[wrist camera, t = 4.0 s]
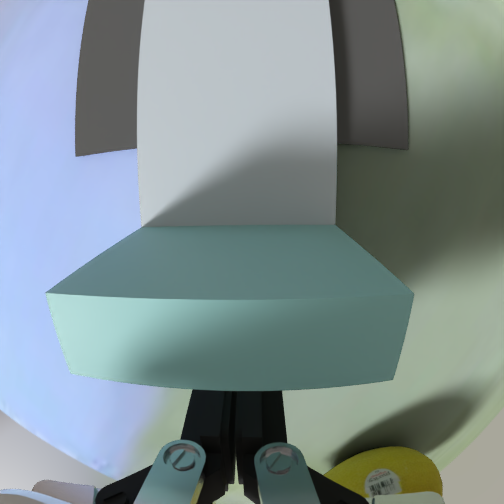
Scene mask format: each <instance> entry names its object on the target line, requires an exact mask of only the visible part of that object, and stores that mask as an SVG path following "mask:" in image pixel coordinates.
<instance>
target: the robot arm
mask: <svg viewBox="0 0 504 504" xmlns="http://www.w3.org/2000/svg"><path fill="white" fill-rule="evenodd" d="M236 460H237V471H238V481H239V484H243V485H244V495H245V496H246V497H247V498H249V499H250V500H251V501H253V502H254V503H255V504H445V502H444V499H443V498H442V497H441V496H440V495H439V494H438V493H435V492H428V491H426V492H418V493H407V494H394V495H375V496H374V497H373V498H364V497H363V496H361V495H360V494H357V493H355V492H353V491H351V490H350V489H348V488H346V487H344V486H342V485H340V484H338V483H336V482H334V481H332V480H331V479H329V478H327V477H325V476H323V475H322V474H320V473H318V472H316V471H315V470H313V469H311V468H310V467H308V466H307V465H306V462H305V459H304V456H303V454H302V453H301V451H300V450H299V449H298V448H296V447H295V446H293V445H291V444H288V443H287V435H286V425H285V416H284V406H283V397H282V390H280V391H219V390H196V389H193V390H192V394H191V398H190V402H189V406H188V410H187V414H186V418H185V422H184V427H183V431H182V435H181V439H180V440H176V441H172V442H170V443H168V444H166V445H165V446H163V448H162V449H161V450H160V452H159V454H158V456H157V458H156V460H155V462H154V464H153V465H151V466H149V467H147V468H145V469H143V470H141V471H138V472H136V473H134V474H132V475H130V476H128V477H125V478H123V479H121V480H119V481H116V482H114V483H112V484H110V485H107V486H106V487H104V488H102V489H98V488H96V487H95V486H89V485H80V484H72V483H65V482H58V481H52V480H42V481H40V482H37V483H36V484H35V485H34V487H33V489H32V491H28V490H21V489H3V490H0V504H216V500H217V499H219V498H220V497H222V496H223V495H225V491H228V484H234V479H235V462H236Z"/></svg>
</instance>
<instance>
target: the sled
mask: <svg viewBox="0 0 504 504" xmlns="http://www.w3.org/2000/svg"><path fill="white" fill-rule="evenodd" d="M137 159H138V183H139V200H140V214H141V226H142V227H141V228H140V229H138V230H136V231H135V232H133V233H132V234H130V235H129V236H127V237H126V238H124V239H122V240H121V241H119V242H118V243H116V244H115V245H113V246H112V247H110V248H109V249H107V250H106V251H104V252H103V253H101V254H100V255H98V256H97V257H95V258H94V259H92V260H91V261H89V262H88V263H86V264H85V265H84V266H82V267H81V268H79V269H78V270H76V271H75V272H74V273H72V274H71V275H69V276H68V277H66V278H65V279H64V280H62V281H61V282H59V283H58V284H57V285H55V286H54V287H53V288H51V289H50V290H49V291H47V292H46V297H47V301H48V305H49V309H50V313H51V316H52V320H53V323H54V326H55V330H56V333H57V336H58V339H59V342H60V345H61V348H62V351H63V354H64V357H65V360H66V362H67V365H68V368H69V370H70V373H71V374H75V375H81V376H86V377H91V378H97V379H103V380H110V381H116V382H123V383H131V384H139V385H148V386H157V387H168V388H181V389H196V390H219V391H280V390H302V389H318V388H330V387H341V386H351V385H360V384H368V383H375V382H382V381H389V380H393V378H394V375H395V371H396V368H397V365H398V361H399V358H400V354H401V350H402V346H403V342H404V339H405V334H406V330H407V326H408V322H409V317H410V313H411V308H412V303H413V298H414V293H413V292H412V291H411V290H410V289H409V288H408V287H407V286H405V285H404V284H403V283H402V282H401V281H400V280H399V279H398V278H397V277H396V276H394V275H393V274H392V273H391V272H390V271H389V270H388V269H387V268H385V267H384V266H383V265H382V264H381V263H380V262H379V261H377V260H376V259H375V258H374V257H373V256H372V255H371V254H369V253H368V252H367V251H366V250H365V249H364V248H362V247H361V246H360V245H359V244H358V243H356V242H355V241H354V240H353V239H352V238H350V237H349V236H348V235H347V234H346V233H344V232H343V231H342V230H341V229H340V228H338V227H337V226H336V225H335V219H336V190H337V112H336V85H335V66H334V52H333V39H332V28H331V18H330V8H329V0H145V3H144V11H143V19H142V29H141V40H140V53H139V69H138V92H137Z"/></svg>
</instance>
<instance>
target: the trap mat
mask: <svg viewBox="0 0 504 504" xmlns="http://www.w3.org/2000/svg"><path fill="white" fill-rule="evenodd" d="M144 3H145V0H89V1H88V6H87V11H86V16H85V22H84V28H83V34H82V41H81V49H80V57H79V67H78V78H77V92H76V115H75V154H76V157H77V156H85V155H91V154H97V153H104V152H111V151H119V150H127V149H135V148H137V92H138V69H139V53H140V40H141V29H142V19H143V11H144ZM329 8H330V18H331V28H332V39H333V52H334V66H335V85H336V112H337V144H352V145H364V146H375V147H385V148H394V149H402V150H408V112H407V94H406V80H405V70H404V60H403V52H402V44H401V37H400V31H399V24H398V19H397V13H396V8H395V3H394V0H329Z"/></svg>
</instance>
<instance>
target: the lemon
mask: <svg viewBox="0 0 504 504" xmlns="http://www.w3.org/2000/svg"><path fill="white" fill-rule="evenodd" d="M323 476H325V477H327V478H329V479H331V480H332V481H334V482H336V483H338V484H340V485H342V486H344V487H346V488H348V489H350V490H351V491H353V492H355V493H357V494H360V495H361V496H363V497H364V498H373V497H374V496H375V495H394V494H407V493H418V492H426V491H428V492H435V493H438V494H439V495H440V496H441V497H442V480H441V477H440V474H439V471H438V469H437V467H436V466H435V464H434V463H433V462H432V460H431V459H429V458H428V457H427V456H425V455H423V454H422V453H420V452H418V451H417V450H414V449H411V448H408V447H400V446H397V447H384V448H377V449H372V450H368V451H365V452H362V453H359V454H357V455H355V456H353V457H351V458H349V459H347V460H345V461H343V462H342V463H340V464H339V465H337V466H335V467H334V468H332V469H331V470H330V471H328V472H327V473H325V474H324V475H323Z"/></svg>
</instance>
